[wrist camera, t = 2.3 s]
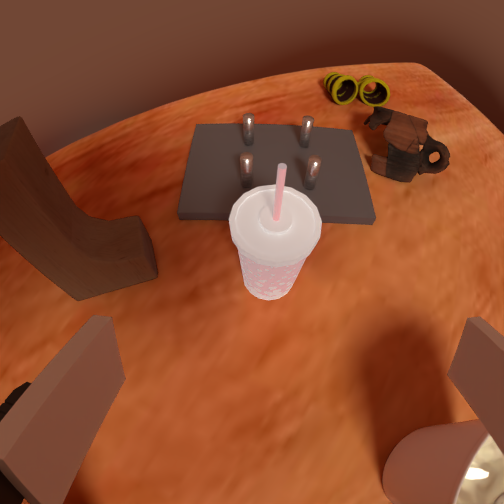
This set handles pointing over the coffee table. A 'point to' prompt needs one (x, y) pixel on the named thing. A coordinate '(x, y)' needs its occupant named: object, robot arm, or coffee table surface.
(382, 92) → the opera glasses
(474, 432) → the candle holder
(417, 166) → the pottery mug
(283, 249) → the beverage cup
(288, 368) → the coffee table surface
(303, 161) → the cup stand
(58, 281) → the wooden block
